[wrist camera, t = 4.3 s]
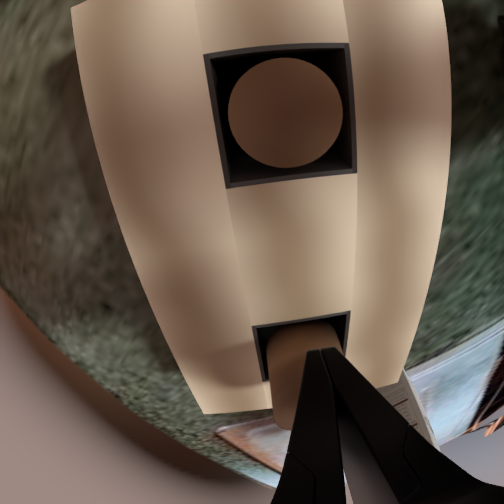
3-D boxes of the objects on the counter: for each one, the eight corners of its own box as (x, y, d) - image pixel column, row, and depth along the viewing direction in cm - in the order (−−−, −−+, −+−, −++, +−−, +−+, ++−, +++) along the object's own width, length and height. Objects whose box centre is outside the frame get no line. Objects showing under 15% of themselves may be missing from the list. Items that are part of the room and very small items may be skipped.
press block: (386, -3, 11) (437, -21, 6) (377, 334, 23) (397, 382, 19) (116, 23, 11) (70, 7, 7) (206, 361, 24) (203, 414, 19)
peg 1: (308, 61, 12) (337, 55, 9) (316, 138, 15) (345, 162, 11) (224, 69, 13) (219, 64, 9) (236, 147, 15) (237, 174, 11)
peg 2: (338, 312, 15) (363, 382, 12) (334, 359, 18) (352, 422, 14) (261, 324, 16) (270, 399, 12) (269, 369, 18) (276, 435, 14)
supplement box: (412, 379, 28) (450, 477, 18) (353, 409, 30) (378, 508, 20) (396, 350, 25) (446, 470, 14) (326, 386, 27) (354, 507, 16)
